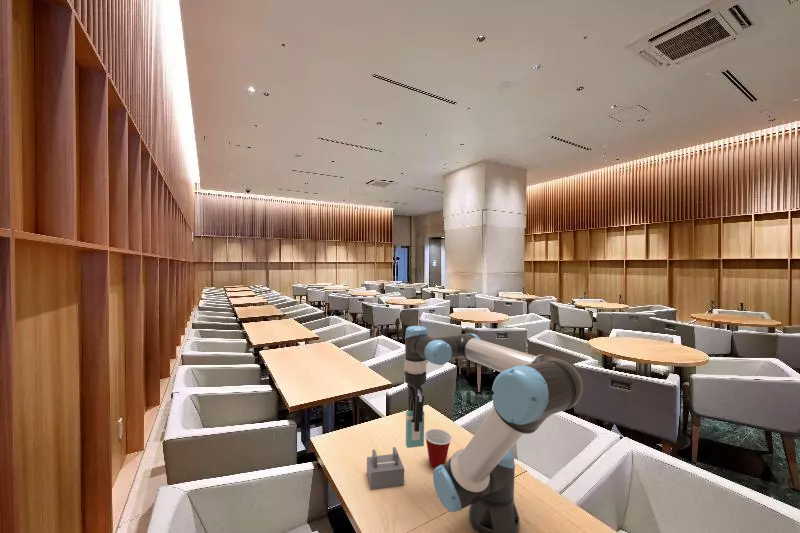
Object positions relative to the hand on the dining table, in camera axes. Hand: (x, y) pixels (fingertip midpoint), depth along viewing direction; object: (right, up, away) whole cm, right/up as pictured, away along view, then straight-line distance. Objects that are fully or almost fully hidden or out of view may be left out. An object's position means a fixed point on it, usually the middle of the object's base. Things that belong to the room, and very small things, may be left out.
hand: (414, 437), depth 125 cm
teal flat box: (0, -3, 0) cm, 3 cm away
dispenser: (-11, -18, +6) cm, 22 cm away
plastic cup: (+10, -18, +15) cm, 26 cm away
